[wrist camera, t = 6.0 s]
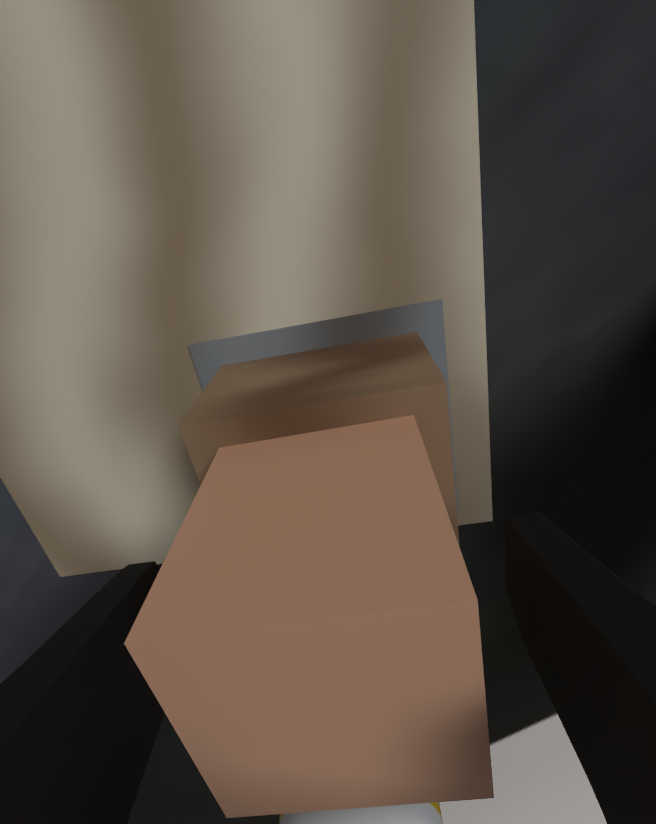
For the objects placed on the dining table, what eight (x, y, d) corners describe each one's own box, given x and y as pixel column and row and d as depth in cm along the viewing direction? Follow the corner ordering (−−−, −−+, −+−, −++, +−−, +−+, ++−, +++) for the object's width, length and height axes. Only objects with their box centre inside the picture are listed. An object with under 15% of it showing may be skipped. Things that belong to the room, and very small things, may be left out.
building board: (458, -118, 10) (469, -148, 9) (485, 507, 17) (493, 522, 16) (-215, 66, 11) (-258, 56, 11) (71, 562, 18) (58, 578, 18)
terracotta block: (413, 414, 10) (477, 599, 5) (434, 566, 12) (494, 798, 7) (218, 447, 10) (124, 643, 6) (268, 587, 12) (226, 818, 8)
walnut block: (416, 331, 13) (446, 382, 9) (434, 496, 16) (462, 586, 12) (221, 366, 14) (178, 425, 10) (268, 519, 16) (247, 611, 13)
